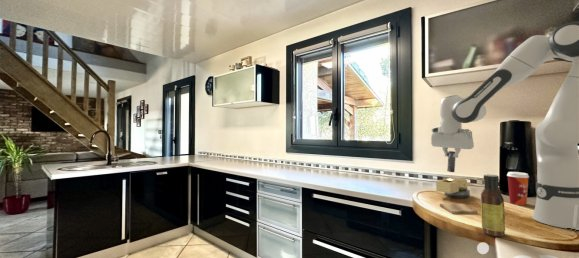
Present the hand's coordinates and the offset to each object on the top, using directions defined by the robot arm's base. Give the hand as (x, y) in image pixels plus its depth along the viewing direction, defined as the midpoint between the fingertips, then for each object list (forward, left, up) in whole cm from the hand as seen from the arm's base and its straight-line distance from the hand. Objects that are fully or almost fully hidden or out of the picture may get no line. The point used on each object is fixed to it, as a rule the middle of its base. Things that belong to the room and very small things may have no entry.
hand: (451, 156), depth 125 cm
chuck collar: (-3, -5, -18) cm, 18 cm away
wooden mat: (+6, +15, -21) cm, 27 cm away
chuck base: (-6, -7, -21) cm, 23 cm away
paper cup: (-25, +7, -21) cm, 34 cm away
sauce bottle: (+8, +39, -21) cm, 45 cm away
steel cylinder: (0, 0, -7) cm, 7 cm away
